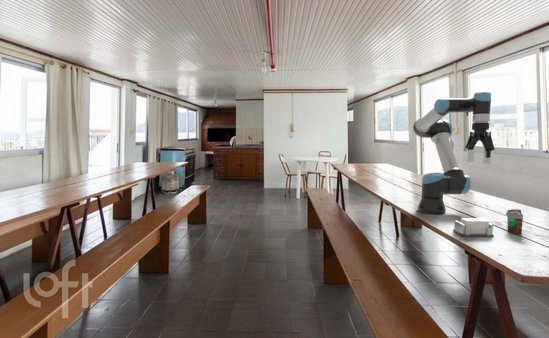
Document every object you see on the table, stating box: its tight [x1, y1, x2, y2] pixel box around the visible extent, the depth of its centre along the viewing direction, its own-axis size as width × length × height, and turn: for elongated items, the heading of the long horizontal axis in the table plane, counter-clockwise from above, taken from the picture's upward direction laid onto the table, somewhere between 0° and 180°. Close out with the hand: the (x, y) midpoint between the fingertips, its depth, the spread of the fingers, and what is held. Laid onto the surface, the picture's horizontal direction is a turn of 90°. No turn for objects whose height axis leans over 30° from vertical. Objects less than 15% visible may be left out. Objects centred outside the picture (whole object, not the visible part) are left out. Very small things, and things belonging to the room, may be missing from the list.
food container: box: [505, 208, 524, 236], centre depth 150 cm, size 12×6×10 cm, turn 145°
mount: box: [452, 220, 495, 238], centre depth 148 cm, size 14×9×6 cm, turn 88°
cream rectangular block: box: [460, 217, 490, 234], centre depth 148 cm, size 10×5×6 cm, turn 85°
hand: (478, 162), depth 165 cm, fingers open, 13 cm apart
